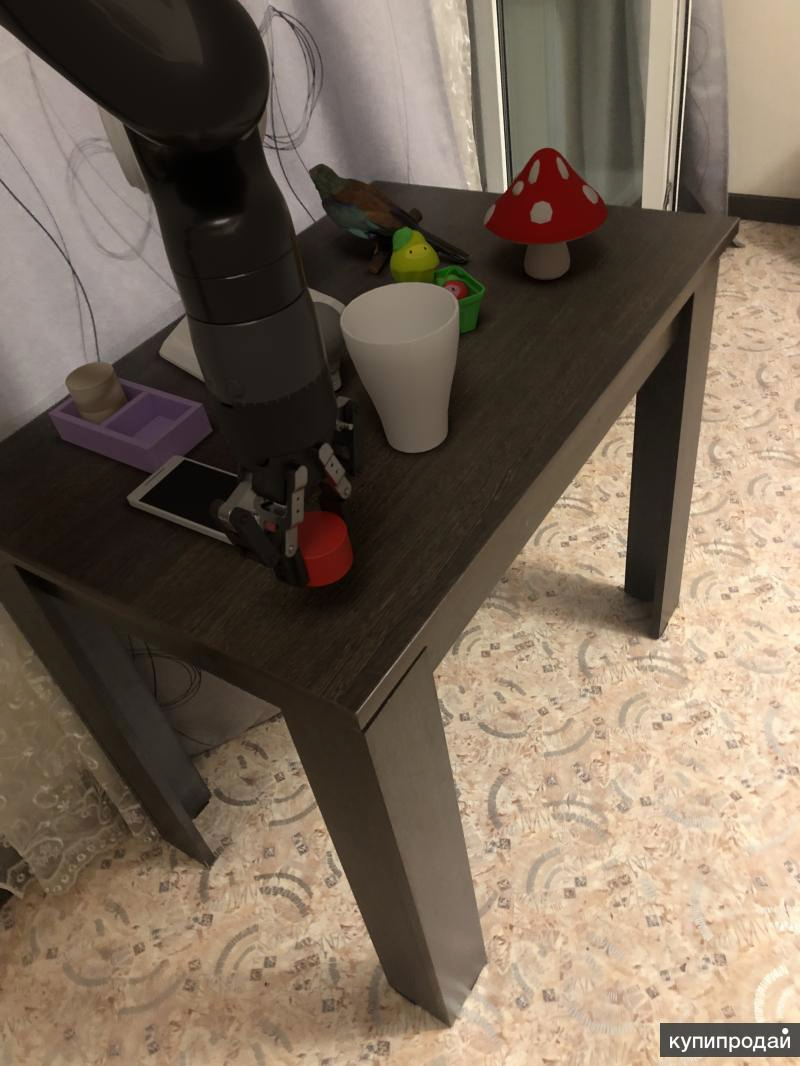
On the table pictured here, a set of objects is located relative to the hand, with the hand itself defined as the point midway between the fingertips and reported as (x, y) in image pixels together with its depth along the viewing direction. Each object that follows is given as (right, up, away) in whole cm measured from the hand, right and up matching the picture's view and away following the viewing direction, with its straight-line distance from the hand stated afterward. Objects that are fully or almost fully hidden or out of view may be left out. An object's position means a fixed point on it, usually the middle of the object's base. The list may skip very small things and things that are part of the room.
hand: (318, 556), depth 61 cm
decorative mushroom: (+24, +33, +39) cm, 56 cm away
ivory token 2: (-25, +14, +27) cm, 39 cm away
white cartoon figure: (-12, +26, +38) cm, 47 cm away
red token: (0, 0, 0) cm, 1 cm away
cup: (+8, +11, +20) cm, 24 cm away
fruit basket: (+9, +25, +33) cm, 43 cm away
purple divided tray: (-22, +12, +26) cm, 36 cm away
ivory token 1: (-26, +16, +25) cm, 39 cm away
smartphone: (-12, +4, +16) cm, 20 cm away
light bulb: (-1, +17, +27) cm, 32 cm away
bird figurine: (+5, +38, +47) cm, 61 cm away
